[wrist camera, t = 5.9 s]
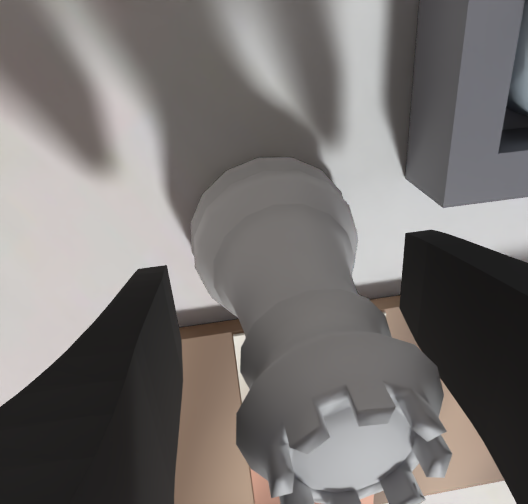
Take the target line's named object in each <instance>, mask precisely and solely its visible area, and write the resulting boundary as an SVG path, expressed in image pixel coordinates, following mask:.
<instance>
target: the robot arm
mask: <svg viewBox="0 0 528 504" xmlns="http://www.w3.org/2000/svg"><path fill="white" fill-rule="evenodd" d="M399 308H400V310H401V313H402V315H403V317H404V319H405V321H406V323H407V325H408V327H409V329H410V331H411V333H412V335H413V337H414V339H415V341H416V343H417V345H418V346H419V348H420V349H421V351H422V352H423V353H424V354H425V355H426V356H427V357H428V358H429V359H430V360H431V361H432V362H433V363H434V364H435V365H436V366H437V367H438V371H439V376H440V378H441V380H442V381H443V383H444V384H445V386H446V387H447V389H448V390H449V391H450V393H451V394H452V396H453V397H454V399H455V400H456V401H457V403H458V404H459V406H460V407H461V409H462V410H463V412H464V413H465V414H466V416H467V417H468V419H469V420H470V422H471V423H472V425H473V426H474V428H475V429H476V431H477V433H478V434H479V436H480V437H481V439H482V440H483V442H484V444H485V446H486V447H487V449H488V451H489V453H490V455H491V456H492V458H493V460H494V462H495V464H496V466H497V467H498V469H499V471H500V473H501V475H502V476H503V478H504V480H505V482H506V484H507V486H508V487H509V489H510V491H511V493H512V495H513V497H514V499H515V501H516V503H517V504H528V263H526V262H523V261H520V260H518V259H515V258H512V257H509V256H507V255H504V254H501V253H499V252H496V251H493V250H491V249H488V248H485V247H483V246H480V245H477V244H474V243H472V242H469V241H466V240H464V239H461V238H458V237H455V236H452V235H449V234H446V233H443V232H439V231H435V230H426V231H418V232H411V233H406V234H405V246H404V258H403V270H402V282H401V294H400V306H399ZM182 389H183V360H182V340H181V335H180V330H179V325H178V320H177V315H176V310H175V305H174V300H173V295H172V290H171V285H170V280H169V275H168V269H167V265H165V266H157V267H150V268H143V269H138V270H137V271H136V272H135V273H134V274H133V276H132V277H131V278H130V279H129V280H128V282H127V283H126V284H125V285H124V287H123V288H122V289H121V290H120V292H119V293H118V294H117V295H116V297H115V298H114V299H113V300H112V301H111V303H110V304H109V305H108V306H107V307H106V309H105V310H104V311H103V312H102V313H101V314H100V316H99V317H98V318H97V319H96V320H95V321H94V323H93V324H92V325H91V326H90V327H89V328H88V329H87V330H86V331H85V332H84V333H83V334H82V335H81V336H80V337H79V338H78V339H77V340H76V341H75V342H74V343H73V344H72V346H71V347H70V348H69V349H68V350H67V351H66V352H65V353H64V354H63V355H62V356H60V357H59V358H58V359H57V360H56V361H55V362H54V363H53V364H52V365H51V366H50V367H49V368H48V369H46V370H45V371H44V372H43V373H42V374H41V375H39V376H38V377H37V378H36V379H35V380H34V381H32V382H31V383H30V384H29V385H28V386H27V387H25V388H24V389H23V390H22V391H20V392H19V393H18V394H17V395H15V396H14V397H13V398H11V399H10V400H9V401H7V402H6V403H5V404H3V405H2V406H1V407H0V504H174V489H175V471H176V460H177V448H178V437H179V425H180V414H181V402H182Z"/></svg>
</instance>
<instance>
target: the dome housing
mask: <svg viewBox="0 0 528 504" xmlns="http://www.w3.org/2000/svg"><path fill="white" fill-rule="evenodd" d="M524 2H525V0H419V10H418V23H417V36H416V48H415V61H414V74H413V86H412V99H411V112H410V125H409V137H408V150H407V163H406V175H405V179H407V180H408V181H409V182H410V183H412V184H413V185H414V186H416V187H417V188H418V189H419V190H421V191H422V192H423V193H425V194H426V195H427V196H428V197H430V198H431V199H432V200H434V201H435V202H436V203H438V204H439V205H440V206H441V207H443V208H446V207H453V206H461V205H469V204H477V203H484V202H492V201H500V200H507V199H515V198H523V197H528V116H527V115H523V114H520V113H517V112H514V111H512V110H510V109H508V108H506V106H507V100H508V94H509V88H510V83H511V77H512V71H513V65H514V60H515V54H516V48H517V43H518V37H519V31H520V25H521V20H522V14H523V8H524Z"/></svg>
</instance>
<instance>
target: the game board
mask: <svg viewBox="0 0 528 504" xmlns="http://www.w3.org/2000/svg"><path fill="white" fill-rule="evenodd" d="M370 301H371V302H372V303H373V304H374V305H375V306H376V307H377V308H378V309H379V310H380V311H381V312H382V313H384V314H385V316H386V319H387V323H388V326H389V329H390V333H391V336H392V338H395V339H398V340H402V341H405V342H408V343H411V344H414V345H416V346H417V347H418V348H419V346H418V345H417V343H416V341H415V339H414V337H413V335H412V333H411V331H410V329H409V327H408V325H407V323H406V321H405V319H404V317H403V315H402V313H401V310H400V308H399V306H400V295H398V296H391V297H385V298H378V299H371V300H370ZM179 330H180V335H181V340H182V360H183V389H182V402H181V414H180V425H179V437H178V448H177V460H176V471H175V489H174V504H280V499H279V496H278V497H274V498H271V494H270V489H269V483H268V481H267V480H266V479H265V478H263V477H262V476H260V475H259V474H258V473H256V472H255V471H253V470H252V469H251V468H250V466H249V465H248V463H247V461H246V460H245V458H244V457H243V455H242V453H241V452H240V450H239V448H238V447H237V445H236V413H237V412H238V410H239V408H240V406H241V404H242V403H243V401H244V399H245V397H246V395H247V394H248V392H249V390H250V389H249V387H248V386H247V384H246V382H245V380H244V378H243V376H242V374H241V373H240V358H241V346H242V344H243V342H244V341H245V339H246V337H245V333H244V331H243V328H242V326H241V324H240V321H239V319H236V320H229V321H222V322H215V323H209V324H202V325H195V326H188V327H182V328H179ZM419 349H420V348H419ZM420 350H421V349H420ZM440 380H441V378H440ZM441 384H442V388H443V393H444V397H443V402H442V406H441V410H440V414H439V419H440V421H441V423H442V424H443V426H444V427H445V429H446V431H447V432H445V433H443V434H441V435H442V437H443V439H444V440H445V442H446V444H447V445H448V447H449V449H450V450H451V452H452V457H451V460H450V463H449V466H448V469H447V472H446V475H445V478H437V477H426V475H425V473H424V471H423V469H422V468H421V466H420V464H418V465H417V466H416V468H415V469H414V470H413V471H412V473H413V475H414V477H415V479H416V481H417V483H418V485H419V487H420V490H421V492H422V494H423V496H426V495H432V494H437V493H442V492H447V491H452V490H457V489H463V488H468V487H473V486H478V485H483V484H489V483H494V482H499V481H504V478H503V476H502V475H501V473H500V471H499V469H498V467H497V466H496V464H495V462H494V460H493V458H492V456H491V455H490V453H489V451H488V449H487V447H486V446H485V444H484V442H483V440H482V439H481V437H480V436H479V434H478V433H477V431H476V429H475V428H474V426H473V425H472V423H471V422H470V420H469V419H468V417H467V416H466V414H465V413H464V412H463V410H462V409H461V407H460V406H459V404H458V403H457V401H456V400H455V399H454V397H453V396H452V394H451V393H450V391H449V390H448V389H447V387H446V386H445V384H444V383H443V381H442V380H441ZM360 501H361V504H385V503H388V500H387V498H386V495H385V493H384V491H381V492H378V493H376V494H373V495H370V496H368V497H365V498H362V499H360ZM314 504H322V503H316V502H314Z"/></svg>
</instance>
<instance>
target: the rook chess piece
mask: <svg viewBox="0 0 528 504" xmlns="http://www.w3.org/2000/svg"><path fill="white" fill-rule="evenodd" d="M357 243H358V237H357V231H356V227H355V224H354V221H353V217H352V214H351V211H350V207H349V205H348V204H347V202H346V201H345V200H344V199H343V196H342V193H341V191H340V190H339V189H338V188H337V187H336V186H335V184H334V183H333V182H332V181H331V180H330V179H329V178H328V177H327V176H326V175H325V173H324V172H323V171H322V170H321V169H318V168H316V167H313V166H311V165H309V164H306V163H304V162H302V161H299V160H297V159H294V158H292V157H274V158H256V159H254V160H251V161H249V162H246V163H244V164H241V165H239V166H236V167H234V168H232V169H229V170H227V171H226V172H224V173H223V174H222V175H221V176H220V177H219V178H218V179H217V180H216V181H215V182H214V183H213V184H212V185H211V186H210V187H209V188H208V189H207V190H206V191H205V192H204V193H203V194H202V196H201V199H200V201H199V204H198V206H197V209H196V211H195V213H194V216H193V218H192V221H191V246H192V253H193V255H194V257H195V268H196V270H197V272H198V274H199V276H200V278H201V280H202V282H203V284H204V285H205V287H206V289H207V291H208V293H209V294H210V296H211V297H212V298H213V299H214V300H215V301H217V302H218V303H219V304H220V305H222V306H223V307H224V308H226V309H227V310H228V311H229V312H231V313H232V314H233V315H235V316H236V317H238V319H239V321H240V324H241V326H242V328H243V331H244V333H245V337H246V339H245V341H244V342H243V344H242V346H241V358H240V373H241V374H242V376H243V378H244V380H245V382H246V384H247V386H248V387H249V389H250V390H249V392H248V394H247V395H246V397H245V399H244V401H243V403H242V404H241V406H240V408H239V410H238V412H237V413H236V445H237V447H238V448H239V450H240V452H241V453H242V455H243V457H244V458H245V460H246V461H247V463H248V465H249V466H250V468H251V469H252V470H253V471H255V472H256V473H258V474H259V475H260V476H262V477H263V478H265V479H266V480H267V481H268V483H269V489H270V494H271V498H274V497H278V496H279V499H280V504H314V502H316V503H322V504H361V501H360V499H362V498H365V497H368V496H370V495H373V494H376V493H378V492H381V491H384V493H385V495H386V498H387V500H388V503H389V504H420V503H422V502H423V501H425V498H424V496H423V494H422V492H421V490H420V487H419V485H418V483H417V481H416V479H415V477H414V475H413V473H412V471H413V470H414V469H415V468H416V466H417V465H418V464H420V466H421V468H422V469H423V471H424V473H425V475H426V477H437V478H445V475H446V472H447V469H448V466H449V463H450V460H451V457H452V452H451V450H450V449H449V447H448V445H447V444H446V442H445V440H444V439H443V437H442V435H441V434H443V433H445V432H447V431H446V429H445V427H444V426H443V424H442V423H441V421H440V419H439V414H440V410H441V406H442V402H443V397H444V393H443V388H442V384H441V380H440V376H439V371H438V367H437V366H436V365H435V364H434V363H433V362H432V361H431V360H430V359H429V358H428V357H427V356H426V355H425V354H424V353H423V352H422V351H421V350H420V349H419V348H418V347H417V346H416V345H414V344H411V343H408V342H405V341H402V340H398V339H395V338H392V336H391V333H390V329H389V326H388V323H387V319H386V316H385V314H384V313H382V312H381V311H380V310H379V309H378V308H377V307H376V306H375V305H374V304H373V303H372V302H371V301H370V300H369V299H368V298H366V297H363V296H360V295H359V294H358V292H357V290H356V288H355V285H354V282H353V279H352V270H353V268H354V263H355V256H356V250H357Z"/></svg>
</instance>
